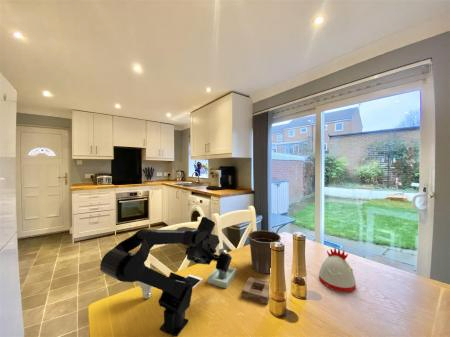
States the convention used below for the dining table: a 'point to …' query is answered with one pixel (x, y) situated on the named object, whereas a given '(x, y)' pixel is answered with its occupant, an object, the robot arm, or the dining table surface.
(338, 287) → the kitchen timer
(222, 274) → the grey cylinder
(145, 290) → the light bulb
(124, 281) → the robot arm
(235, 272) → the tray
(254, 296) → the socket block
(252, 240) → the plant pot
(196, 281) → the cell phone
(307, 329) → the dining table surface
